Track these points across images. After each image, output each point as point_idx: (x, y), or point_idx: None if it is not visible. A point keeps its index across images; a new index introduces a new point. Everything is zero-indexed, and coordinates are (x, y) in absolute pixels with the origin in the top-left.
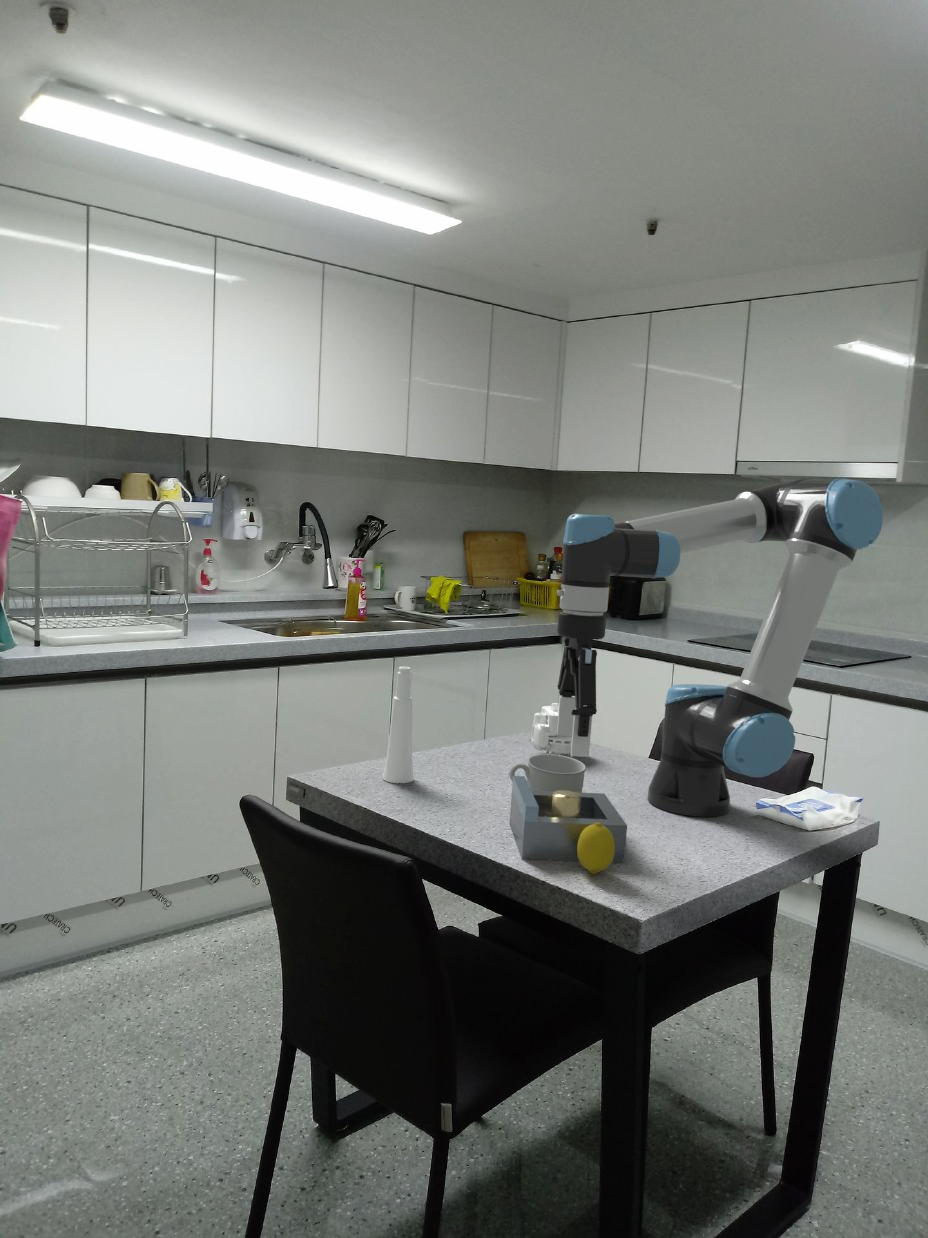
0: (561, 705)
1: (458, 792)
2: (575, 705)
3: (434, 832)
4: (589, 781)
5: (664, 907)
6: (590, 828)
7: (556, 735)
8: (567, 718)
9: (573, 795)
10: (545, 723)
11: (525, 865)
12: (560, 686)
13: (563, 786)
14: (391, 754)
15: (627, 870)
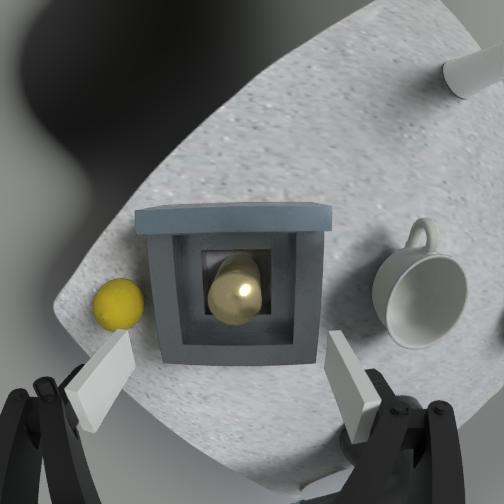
0: (353, 388)
1: (432, 147)
2: (346, 426)
3: (256, 86)
4: (466, 336)
5: (77, 339)
6: (100, 304)
7: None
8: (339, 381)
9: (232, 311)
10: None
11: (144, 208)
12: (427, 417)
13: (379, 304)
14: (468, 56)
15: (154, 334)
